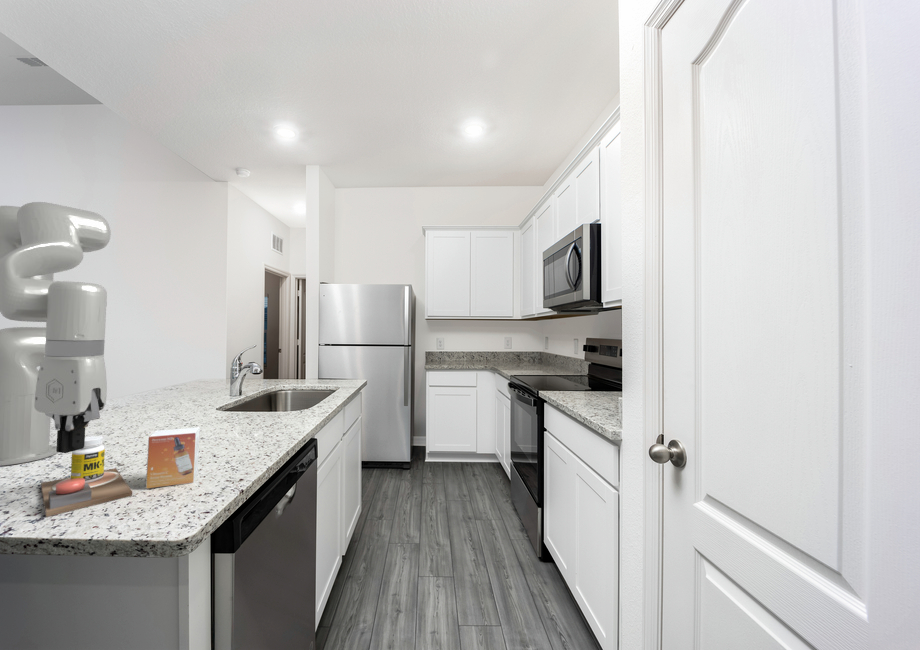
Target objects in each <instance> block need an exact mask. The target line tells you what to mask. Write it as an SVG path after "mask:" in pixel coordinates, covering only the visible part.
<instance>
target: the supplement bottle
mask: <svg viewBox="0 0 920 650" xmlns="http://www.w3.org/2000/svg"><path fill="white" fill-rule="evenodd" d="M103 443H104V438H103V436H102V435H92V436H90V435H89V436H85V445H84V448H82V449H79V450H75V451H72V452H71V462H70V463H71V464H70V465H71V467H70V477H71V479H75V478H84V479H85V483H90V482H94V481H97V480H99V479H101V478H102V477H103V476H104V470H105V457H106V456H105V454H106V448H105V445H103Z"/></svg>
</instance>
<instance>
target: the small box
mask: <svg viewBox="0 0 920 650" xmlns="http://www.w3.org/2000/svg"><path fill="white" fill-rule="evenodd" d="M200 433H201V428H200V426H195V427H188V428H187V427H186V428H174V429H163V430H162V429H161V430H160V429H158V430H155V431H154V432H152V433H151V435H149V436H148V443H147V459H146V461H147V462H146V479H145V489H153V488H159V487H167V486H176V485H178V486H179V485H188V484H193V483H194V482H195V481H196V478H197V475H199V474H198V473H199V457H200V456H199V453H200V450H199V449H200V436H201V435H200Z"/></svg>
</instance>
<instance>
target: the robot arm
mask: <svg viewBox="0 0 920 650" xmlns="http://www.w3.org/2000/svg"><path fill="white" fill-rule="evenodd" d="M111 236H112V234H111V227H110V225H109V223H108V221H107V219H106V218H105V217H104V216H103V215H101V214H99V213H98V212H95V211H91V210H84V209H80V208H75V207H71V206H66V205H62V204H57V203H53V202H51V203H50V202H47V201H46V202H43V201H33V202H27V203H25V204H23V205H22V206H15V205H0V313H1V314H0V315H2V317H4V319H5V318H6V319H8V320H10V321H17V322H27V323H28V322H29V323H31V322H32V323H35V322H36V323H45V327H43V326H42V327H41V326H40V327H39V326H37V327H35V326H30V327H29V326H25V327H24V326H16V327H15V326H14V327H13V326H12V327H6V328H5V327H4V328H2V329H0V467H1V466H9V465H10V466H11V465H19V464H24V463H29V462H34V461H37V460H43V459H45V458H49V457H51V456H53V455H55V454H57V453H63V454H67V453H72V452H73V451H75V450H79V449H82V448H84V445H85V437H86V428H87V427H88V426H89V423H90V422H91V421H96V420H99V419H100V418H101V415H100V411H102V410H104V409H105V407H106V404H107V397H108V396H107V394H108V393H107V389H108V386H107V370H106V368H107V367H106V364H105V363H106V362H105V341H106V340H105V338H106V322H107V321H106V320H107V319H106V318H107V306H108V302H107V301H108V300H107V299H108V295H107V294H108V292H107V290H106V289H107V288H105V287H104V286H103V285H100V284H97V283H91V282H79V281H69V280H67V281H66V280H63V281H62V280H54V274H55V273H62V272H66V271H70V270H72V269H74V268H76V267H78V266H79V265H80V264H81V263H82V262H83V260H84V253H91V252H96V251H100V250H102V249H104V248H106V247H107V245H108V244H109V242H110V240H111ZM38 367H39V369H38ZM51 418H52V419H53V421H54V428H55V430H57V433H56V434H57V435H56V445H50V437H51Z"/></svg>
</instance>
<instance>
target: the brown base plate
mask: <svg viewBox="0 0 920 650" xmlns="http://www.w3.org/2000/svg"><path fill="white" fill-rule="evenodd" d="M69 479H71V476H70V477H65V478H60V479H55V480H50V481H45V482H41V484H40V488H41V493H42V501H43V508H44V512H45V517H46V518H47V517H52V516H55V515H60V514H65V513H68V512H72V511H75V510H79V509H83V508H84V509H85V508H88V507H93V506H96V505H100V504H104V503H108V502H113V501H117V500H121V499H125V498H128V497H132V496H133V490H132V489H131V488H130V486H129V485H128V483H127V482H126V480H125V479H124V478H123V476H122V475H121V473H120V472H119V471H118V469H117V468H116V467H115V468H109V469H104V476H103V477H102V478H101V479H99V480H97V481H94V482H90V483H85V487H84V488H83V489H82V490H79V491H76V492H72V493H67V494H56V484H57V483H59V482H62V481H65V480H69Z"/></svg>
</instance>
